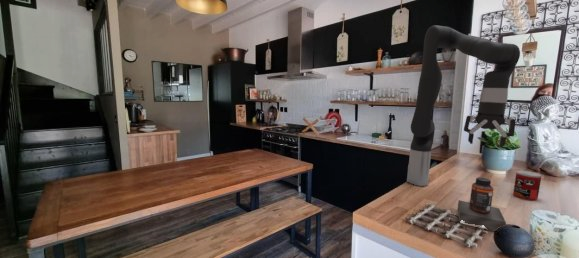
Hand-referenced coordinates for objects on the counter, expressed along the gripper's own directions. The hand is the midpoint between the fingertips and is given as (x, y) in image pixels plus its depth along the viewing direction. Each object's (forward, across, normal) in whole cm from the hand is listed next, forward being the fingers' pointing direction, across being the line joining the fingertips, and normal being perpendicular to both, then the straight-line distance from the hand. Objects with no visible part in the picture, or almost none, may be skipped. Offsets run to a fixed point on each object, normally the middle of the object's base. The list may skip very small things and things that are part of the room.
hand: (485, 145), depth 90 cm
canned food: (+26, -20, -31) cm, 45 cm away
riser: (+26, -1, +9) cm, 27 cm away
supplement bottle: (+22, -1, +9) cm, 24 cm away
